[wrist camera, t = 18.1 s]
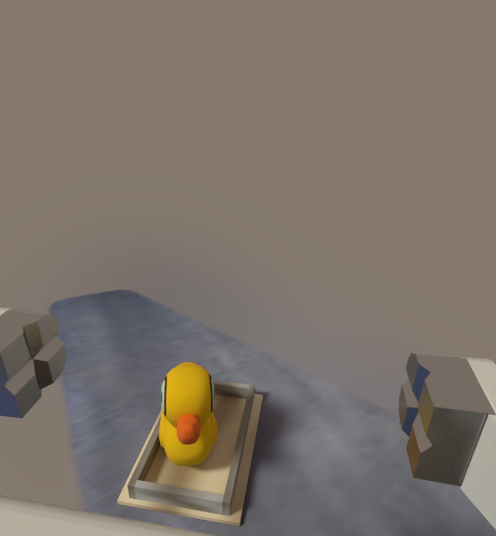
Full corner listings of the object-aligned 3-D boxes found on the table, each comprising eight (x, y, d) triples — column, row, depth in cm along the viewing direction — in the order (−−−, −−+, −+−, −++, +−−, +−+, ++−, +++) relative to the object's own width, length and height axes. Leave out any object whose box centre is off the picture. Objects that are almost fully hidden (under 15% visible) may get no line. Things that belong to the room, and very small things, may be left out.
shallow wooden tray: (262, 397, 44) (263, 384, 43) (239, 526, 31) (240, 510, 30) (174, 385, 46) (173, 372, 45) (117, 503, 33) (114, 488, 32)
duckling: (222, 504, 33) (226, 416, 28) (156, 511, 32) (150, 421, 27) (212, 402, 43) (215, 326, 38) (162, 405, 42) (159, 328, 37)
